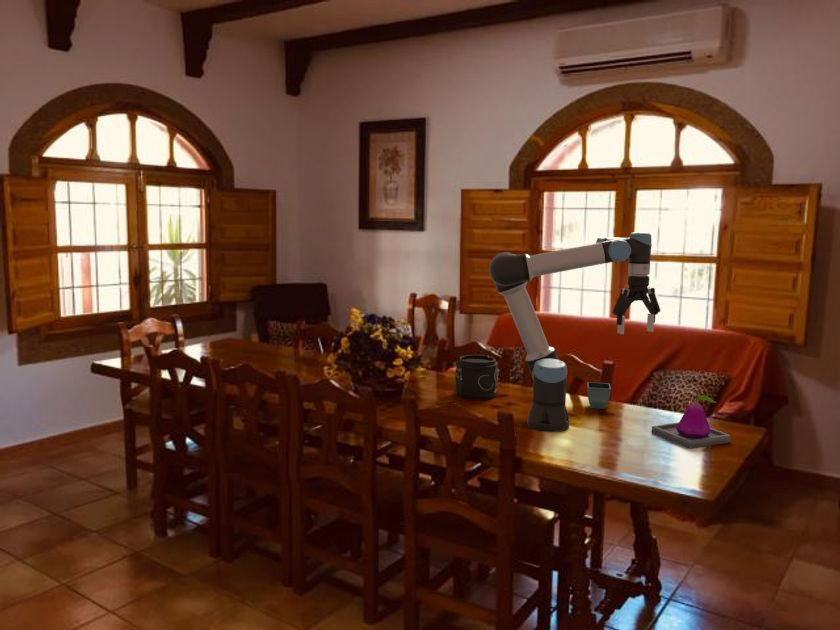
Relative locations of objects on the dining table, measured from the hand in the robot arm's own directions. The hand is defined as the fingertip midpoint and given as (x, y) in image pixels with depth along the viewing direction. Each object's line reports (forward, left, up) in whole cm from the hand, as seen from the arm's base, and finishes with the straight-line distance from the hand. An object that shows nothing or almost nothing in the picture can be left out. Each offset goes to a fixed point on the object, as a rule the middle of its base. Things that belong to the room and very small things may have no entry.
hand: (635, 332), depth 266 cm
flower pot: (-2, +17, -33) cm, 37 cm away
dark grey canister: (-38, +51, -33) cm, 72 cm away
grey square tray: (+4, -26, -33) cm, 42 cm away
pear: (+4, -27, -31) cm, 42 cm away
